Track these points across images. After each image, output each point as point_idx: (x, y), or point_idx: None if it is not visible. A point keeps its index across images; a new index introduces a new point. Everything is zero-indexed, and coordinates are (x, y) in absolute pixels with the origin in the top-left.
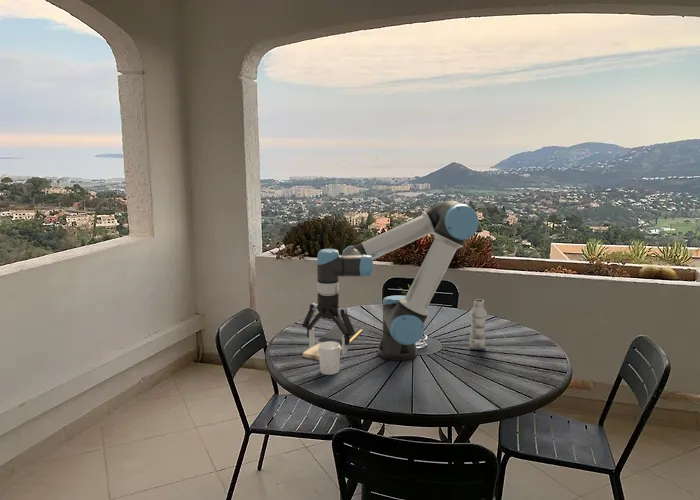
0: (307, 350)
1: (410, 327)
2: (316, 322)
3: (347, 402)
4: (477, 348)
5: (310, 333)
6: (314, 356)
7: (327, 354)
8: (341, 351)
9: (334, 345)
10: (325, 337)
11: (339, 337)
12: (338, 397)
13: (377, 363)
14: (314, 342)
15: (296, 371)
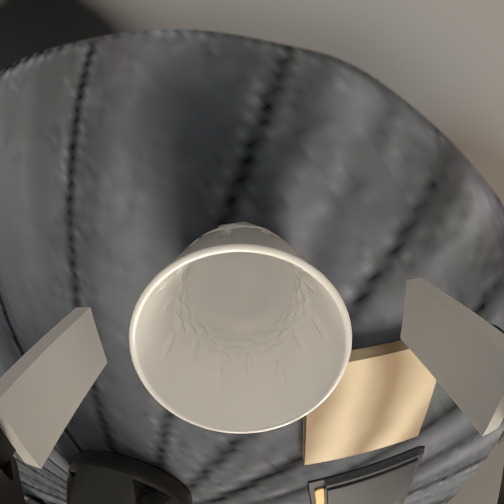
0: None
1: None
2: (500, 502)
3: (20, 70)
4: (29, 499)
5: (494, 340)
6: (389, 349)
7: (196, 245)
8: (303, 444)
9: (244, 407)
10: (405, 468)
11: (360, 490)
12: (56, 70)
13: (116, 422)
14: (410, 346)
15: (392, 178)
